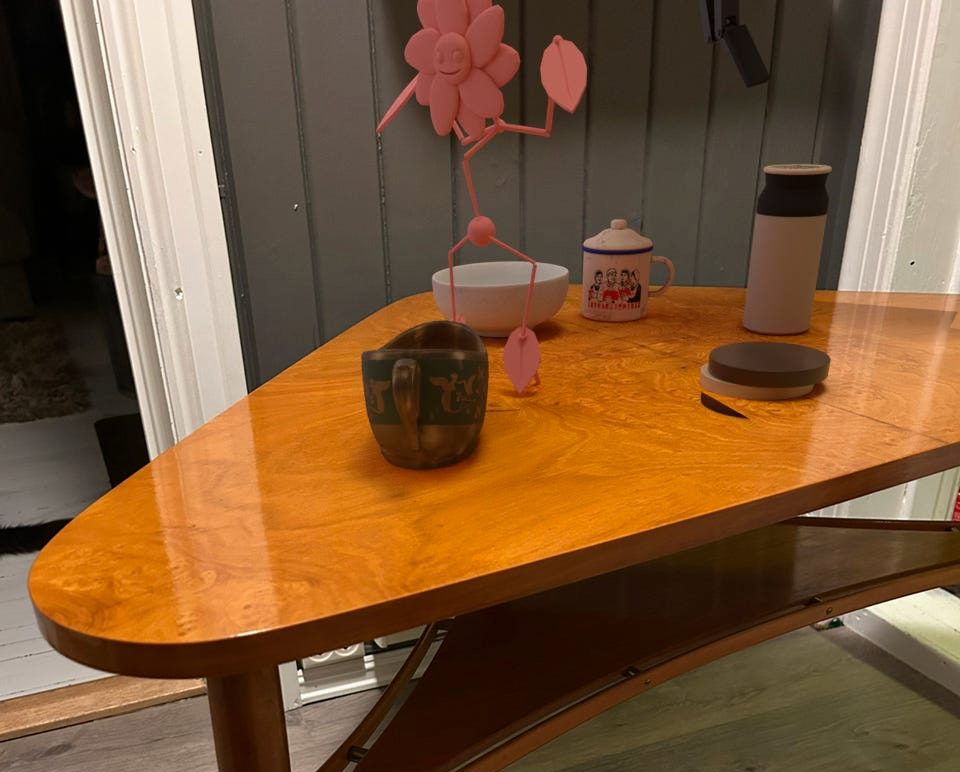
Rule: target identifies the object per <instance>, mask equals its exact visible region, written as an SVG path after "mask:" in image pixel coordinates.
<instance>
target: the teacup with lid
mask: <svg viewBox="0 0 960 772" xmlns="http://www.w3.org/2000/svg"><path fill="white" fill-rule="evenodd" d="M627 225H628V223H627V221H626V219H620V218H618V219H617V218H615V219H613V220H611V222H610V228H607V229H603V230H602V231H601V232H599V233H598V234H597V235H595V236H591V237H590V238H587V239H586V240H584V242H583V243H582V246H581V249H582V251H583V263H582V264H583V265H582V269H583V270H582V290H581V291H582V292H581V293H582V296H581V314H582V316H583V317H585V318H586V319H590V320H593V321H596V322H597V321H599V322H609V323H615V322H617V323H618V322H619V323H621V322H631V321H637V320H640V319H643V318H645V317H646V315H647V314H648V304H649V298H656V297H660V296H662V295H664V294H665V293H666V292H667V291H669V289H670V287H671V286H672V284H673V281H674V278H675V266H674V264H673V262H672V261H671V260H670V259H669V258H667V257H666V256H661V255H652V251H653V250H654V245H653V244H654V243H653V242H652V239H650V238H648V237H644V236H643V235H640V234H639V233H637V232H636V231H635V230H633V229H632V228H627V227H628V226H627ZM651 263H652V264H653V263H661V264H663V265H665V266H666V267H667V268H668V277H667V279H666V282H665V283H664V285H662V287H660V288H659V289H656V290H650V289H649V288H650V275H651Z"/></svg>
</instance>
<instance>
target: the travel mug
mask: <svg viewBox="0 0 960 772" xmlns="http://www.w3.org/2000/svg"><path fill="white" fill-rule="evenodd" d="M832 169H833V168H832V166H830V165H825V164H810V163H793V164H792V163H789V164H771V165H766V166H764V167H763V169H762V170H763V172H764V175H765V185H764V187H763V189H762V190H761V193H760V194H759V196H758V197H757V203H756V213H755V217H754V227H753V234H752V235H753V236H752V244H751V251H750V252H751V254H750V262H749V270H748V277H747V287H746V295H745V304H744V311H743V321H742V326H743V327H744V328H745V329H746V330H749V331H750V332H752V333H755V334H756V333H757V334H760V335H769V336H770V335H771V336H790V335H791V336H792V335H797V334H801V333H804V332H805V331H807V330H809V329H810V328H811V327H810V326H811V321H812V316H813V315H812V314H813V308H814V300H815V295H816V288H817V282H818V275H819V267H820V263H821V255H822V249H823V243H824V236H825V230H826V225H827V218H828V217H827V216H828V209H829V204H830V197H829V194H828V190H827V188H826V183H827V180H828V178H829V177H828V176H829V174H830V173H831V172H832Z"/></svg>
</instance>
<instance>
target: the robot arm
mask: <svg viewBox="0 0 960 772" xmlns="http://www.w3.org/2000/svg"><path fill="white" fill-rule="evenodd" d="M698 3H699V4H698V5H699V10H700V16H701V23H702V30H703V37H704V43H705V44H706V45H707V46H712V45H715V44H718V43H722V44H723V46H724V49H725V51H726V53H727V55H728V57H729V60H730V63H731V64H733V65H734V66H736V68H737V69H738V72H739V74H740V77H741V78H742V81H743V83H744V85H745V87H746V89H751V88H753V87H756V86H759V85H762V84H765V83H767V82H768V81H769V80H770V79H771V76H770V73H769V71H768V69H767V67H766V65H765V62H764V60H763V58H762V56H761V54H760V52H759V50H758V48H757V45H756V44H755V42H754V40H753V37H752V35H751V33H750V30H749V29H748V25H746V23H744V24H741V25H740V0H698Z"/></svg>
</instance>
